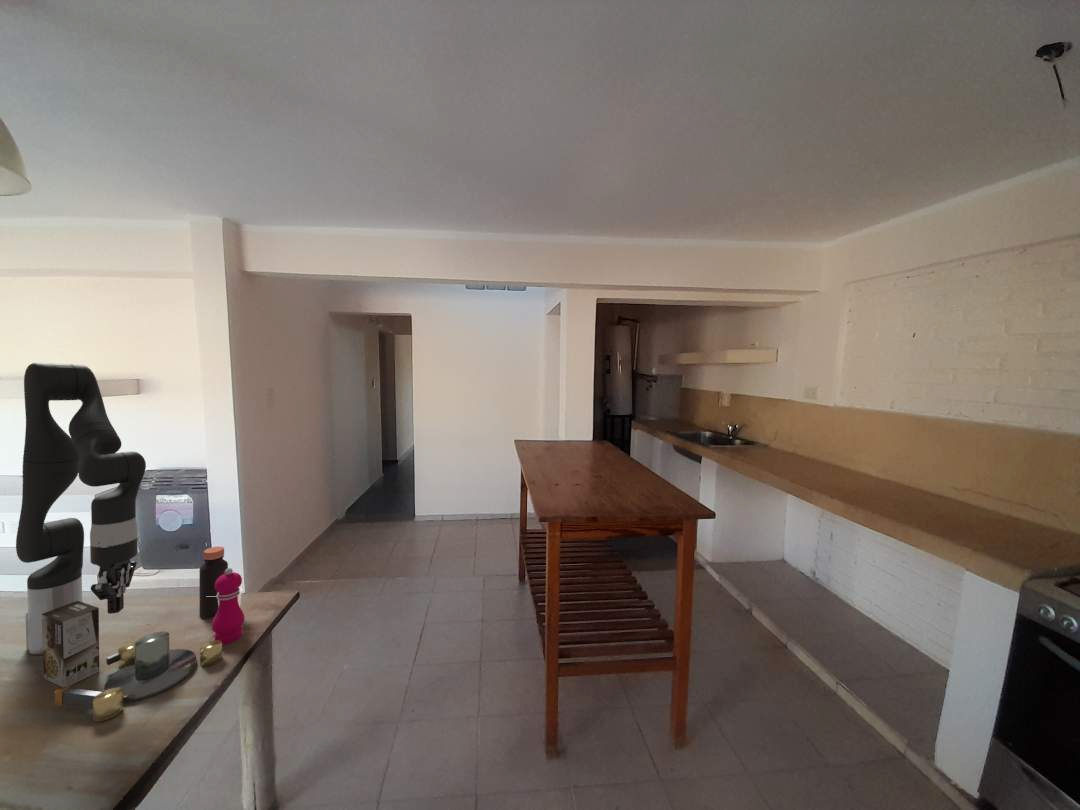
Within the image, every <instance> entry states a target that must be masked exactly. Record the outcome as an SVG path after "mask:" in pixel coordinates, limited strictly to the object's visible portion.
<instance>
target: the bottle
mask: <svg viewBox="0 0 1080 810" xmlns="http://www.w3.org/2000/svg"><path fill="white" fill-rule="evenodd" d="M224 557H225V547H224V546H212V547H208V548H207V549H205V550H203V561H204V562H203V564H202V565H201V566H199V569H198V570H199V617H200V618H201V619H204V618H205V619H207V618H209V619H214V617H215V615H216V613H217V611H218V608H219V605H218V599H217V597H206V596H217V593H218V591H216V589H215V582H216V580H217V579H218V578H219V577H220V576H221V575H223V574H225V570H226V569H228V568H229V562H228V561H227V560H225V559H224Z"/></svg>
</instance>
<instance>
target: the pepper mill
mask: <svg viewBox="0 0 1080 810" xmlns="http://www.w3.org/2000/svg"><path fill="white" fill-rule="evenodd" d="M242 583H243V577H242V575H241V574H240V573H238V572H235V571H233V568H230V567H228V569H226V570H225V574H223V575H221V576H220V577H219V578H218V579H217V580H216V582H215V589H216V591H218V593H217V599H218V600H219V608H218V611H217V613H216V615H215V617H214V618H213V621H212V623H211V630H212V632H213V633H214V635H213V638H215V640H220V641H222V645H226V644H227V645H228V644H230V643H233V642H235V641H237V640H239V639H240V638H241V637H242V635H243V627H242V626H243V624H244V622H245V615H244V612H243V609H242V608H241V605H240V606H239V604H238V595H239V594H240V592H239V590H240V588H239V587H241V585H242Z"/></svg>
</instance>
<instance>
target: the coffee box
mask: <svg viewBox="0 0 1080 810" xmlns="http://www.w3.org/2000/svg"><path fill="white" fill-rule="evenodd" d="M99 610H100V608H99V607H98V606H94V605H91V604H89V603H85V602H83V601H82V602H80V601H75V602H72V603H70V604H67V605H64V606H61V607H59V608H56V609H54V610H51V611H48V612H46V613H43V614H42V643H43V654H42V661H43V679H45V680H46V681H49V682H51V683H52V684H54V685H57V686H59V687H60V688H61V687H63V686H64V687H70V686H73V685H74V684H77V683H79V682H81V681H83V680H85V679H87V678H89V677H92V676H94V675H95V674H98V673H99V672H100V626H99V625H100V616H99V615H100V614H99V612H100V611H99Z"/></svg>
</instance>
